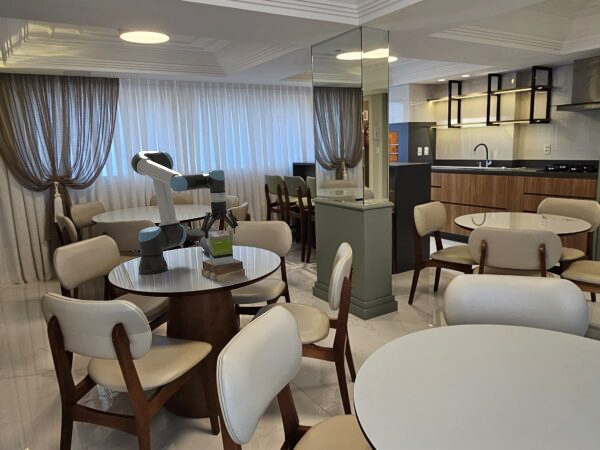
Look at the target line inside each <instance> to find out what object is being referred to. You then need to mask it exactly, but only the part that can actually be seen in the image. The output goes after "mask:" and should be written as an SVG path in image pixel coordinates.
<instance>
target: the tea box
mask: <svg viewBox="0 0 600 450" xmlns="http://www.w3.org/2000/svg"><path fill="white" fill-rule="evenodd" d="M209 232H210V241H211V245H209V254H210V255H209V254H208V255H209V260H210V259H211V261H212V262H213V264H214V265H215V266H217V265H224V264H231V263H234V260H233V259H234V249H233V241H232V236H231V235H230V232H228V231H227V230H226V229H225V230H217V231H209Z"/></svg>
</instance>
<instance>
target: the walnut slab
mask: <svg viewBox="0 0 600 450" xmlns="http://www.w3.org/2000/svg"><path fill="white" fill-rule="evenodd" d="M233 260H234V263H231V264H224V265H217V266H215V265H214V264H213V262H212V261H211V259H210V258H209V259H206V260H201V262H202V268H203V269H205V270H208V271H210V272H213V273H215V274H217V275H221V274H225V273H229V272H234V271H238V270H242V269H244V265H243V264H244V261H243V260H240V259H237V258H233Z"/></svg>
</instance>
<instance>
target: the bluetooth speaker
mask: <svg viewBox="0 0 600 450" xmlns="http://www.w3.org/2000/svg"><path fill="white" fill-rule="evenodd" d="M199 245H200V247H201V248H202V249H203V251H204V252H206V254H208V256H210V254H209V245H207V240H206V238H205V235H204V236H202V237H201V239H200V240H199Z"/></svg>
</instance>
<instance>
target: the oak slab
mask: <svg viewBox="0 0 600 450" xmlns="http://www.w3.org/2000/svg"><path fill="white" fill-rule="evenodd" d="M200 271H201V276H203V277H205V278H208V279H210V280H213V281H216V282H218V283H222V282H225V281H229V280H233V279H237V278H241V277H244V276H246V268H243V269H242V270H238V271H234V272H229V273H225V274H221V275H217V274H215V273H213V272H210V271H208V270H205V269H203V267H202V268H201V269H200Z"/></svg>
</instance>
